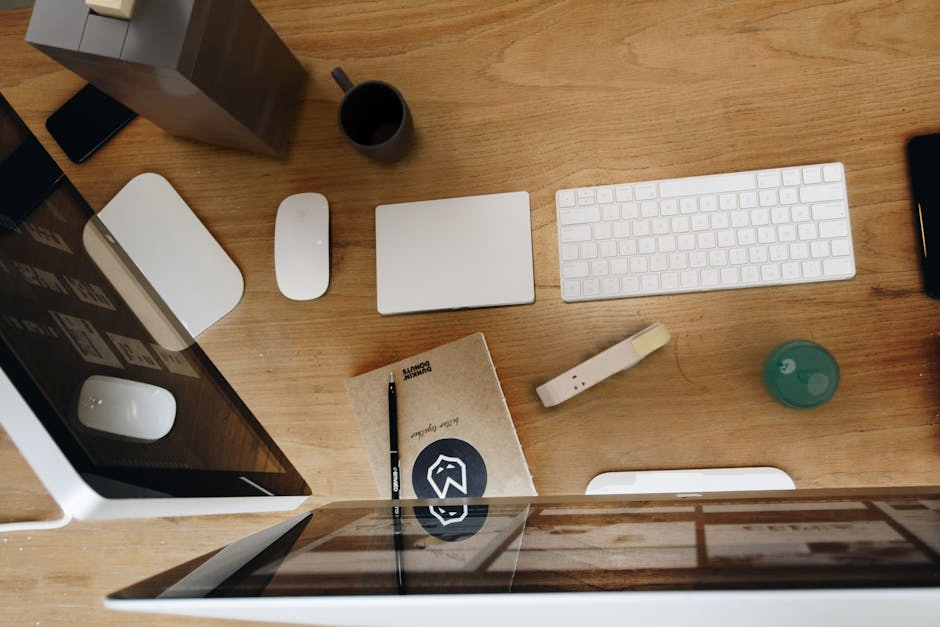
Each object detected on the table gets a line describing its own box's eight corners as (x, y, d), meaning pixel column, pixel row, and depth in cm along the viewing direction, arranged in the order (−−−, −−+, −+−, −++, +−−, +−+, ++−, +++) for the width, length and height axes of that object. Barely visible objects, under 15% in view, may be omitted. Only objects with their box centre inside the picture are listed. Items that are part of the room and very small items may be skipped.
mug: (381, 76, 90) (361, 40, 80) (435, 147, 88) (421, 119, 79) (330, 115, 90) (304, 84, 81) (383, 186, 88) (363, 163, 79)
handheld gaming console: (654, 349, 84) (546, 409, 83) (642, 329, 85) (535, 388, 84) (682, 338, 73) (558, 407, 72) (668, 315, 74) (545, 383, 73)
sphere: (740, 392, 81) (760, 394, 73) (767, 329, 81) (790, 324, 73) (808, 421, 80) (836, 426, 72) (835, 357, 80) (866, 355, 72)
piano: (171, 135, 93) (23, 41, 67) (194, 49, 93) (57, -77, 68) (283, 158, 90) (175, 70, 65) (306, 70, 91) (208, -52, 65)
